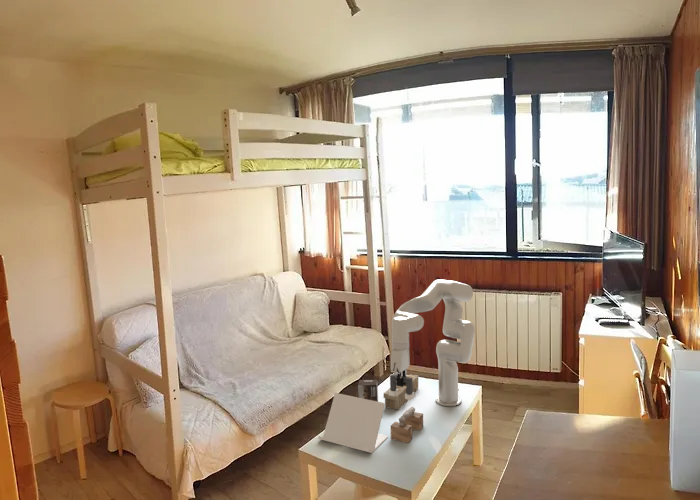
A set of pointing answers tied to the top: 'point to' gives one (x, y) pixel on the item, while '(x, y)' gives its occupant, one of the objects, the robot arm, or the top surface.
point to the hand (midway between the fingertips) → (401, 384)
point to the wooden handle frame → (406, 425)
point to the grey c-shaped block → (409, 387)
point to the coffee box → (368, 389)
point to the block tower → (400, 394)
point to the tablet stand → (355, 423)
